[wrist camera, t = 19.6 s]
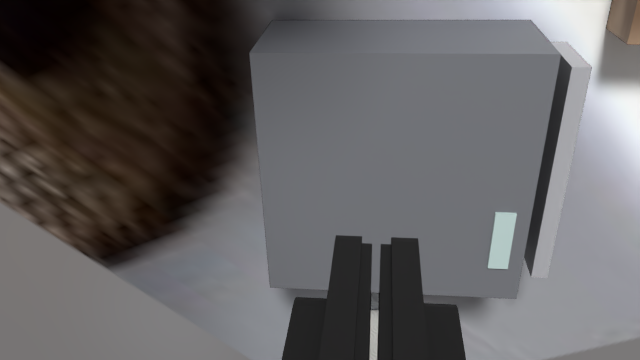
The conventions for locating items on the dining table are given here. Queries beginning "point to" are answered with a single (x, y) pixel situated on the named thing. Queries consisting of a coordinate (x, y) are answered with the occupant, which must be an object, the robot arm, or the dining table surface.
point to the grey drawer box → (402, 145)
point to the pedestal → (625, 20)
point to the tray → (556, 158)
